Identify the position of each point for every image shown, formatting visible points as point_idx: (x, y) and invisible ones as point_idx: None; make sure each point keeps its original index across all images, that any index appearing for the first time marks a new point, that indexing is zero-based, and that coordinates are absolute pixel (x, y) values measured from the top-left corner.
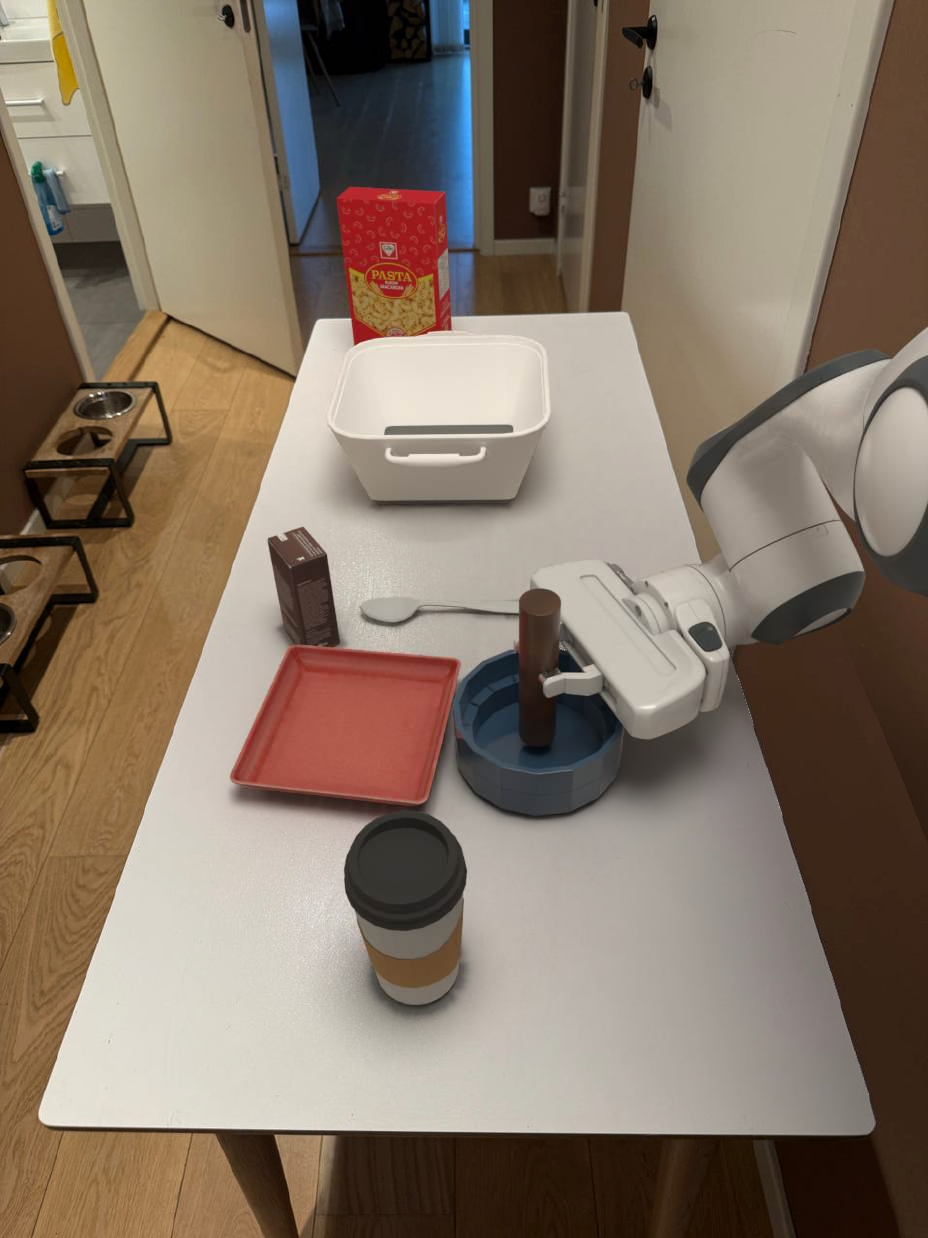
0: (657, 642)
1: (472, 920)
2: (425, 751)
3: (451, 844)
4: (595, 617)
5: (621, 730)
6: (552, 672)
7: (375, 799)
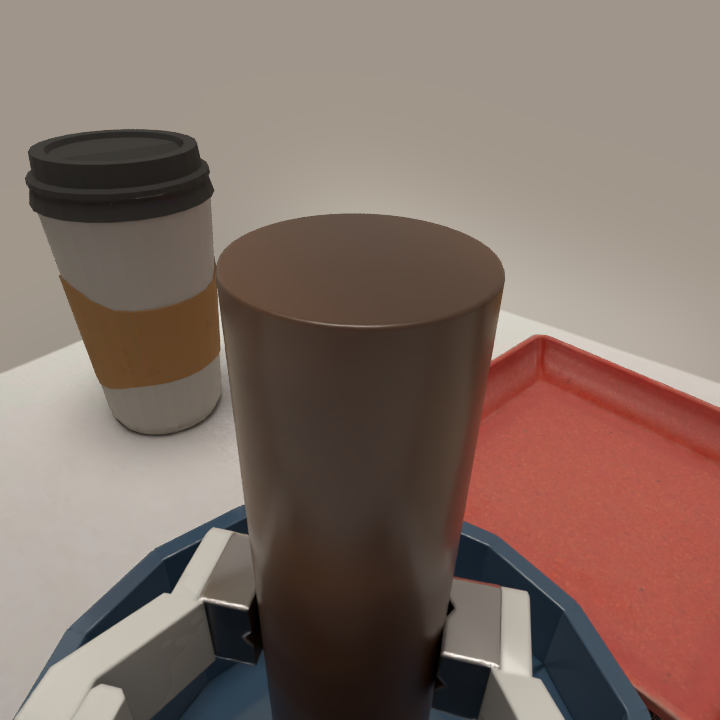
0: None
1: (152, 471)
2: None
3: (59, 160)
4: None
5: None
6: (239, 573)
7: None
